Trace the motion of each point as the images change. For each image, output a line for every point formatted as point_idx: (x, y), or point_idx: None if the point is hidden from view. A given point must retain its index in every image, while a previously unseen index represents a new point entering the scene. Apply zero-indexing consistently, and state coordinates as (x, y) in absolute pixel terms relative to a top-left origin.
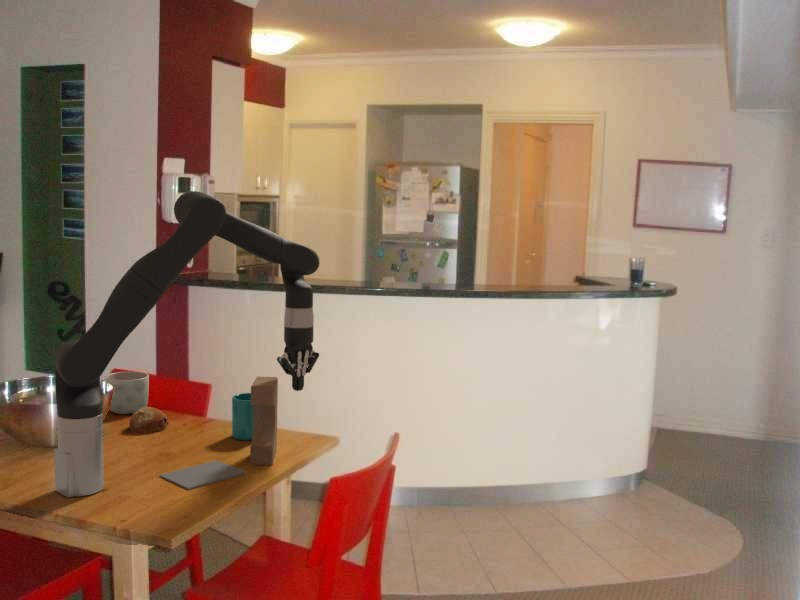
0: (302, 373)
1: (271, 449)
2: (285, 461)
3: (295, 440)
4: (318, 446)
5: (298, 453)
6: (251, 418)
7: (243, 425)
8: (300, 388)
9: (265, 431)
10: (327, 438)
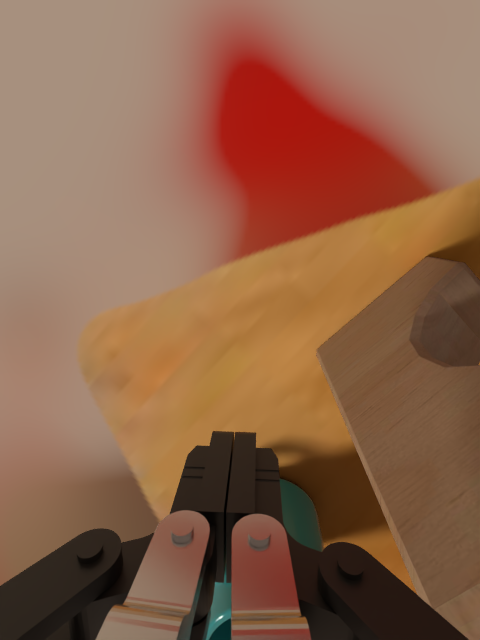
0: (201, 539)
1: (461, 262)
2: (361, 260)
3: (186, 399)
4: (169, 304)
5: (270, 294)
6: (299, 540)
7: (316, 534)
8: (236, 437)
9: (444, 352)
10: (90, 347)
